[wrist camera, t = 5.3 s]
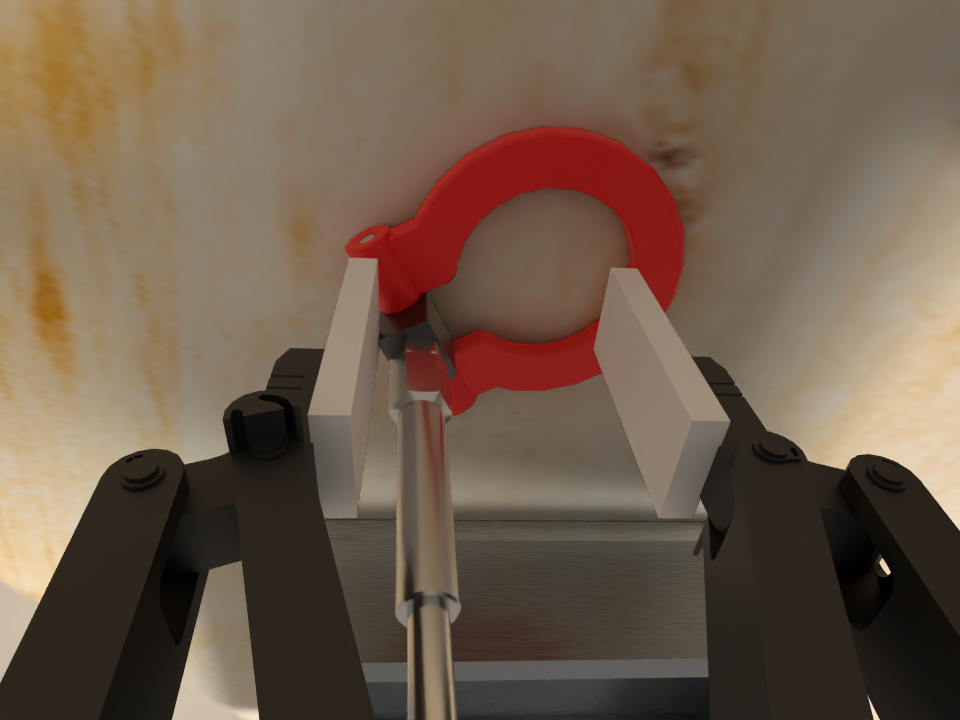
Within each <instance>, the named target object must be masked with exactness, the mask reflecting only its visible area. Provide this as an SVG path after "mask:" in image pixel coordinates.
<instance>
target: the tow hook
mask: <svg viewBox="0 0 960 720" xmlns="http://www.w3.org/2000/svg"><path fill="white" fill-rule="evenodd" d="M545 188H557V189H573V190H576V191H579V192H582V193H585V194H588V195H591V196H594V197H596V198H598V199H599V200H601V201H602V202H603V203H605V204H606V205H608V206H609V207H610V208H612V209H613V210H614V211H615V212H616V214H617V215H618V216H619V218H620V219H621V221H622V223H623V226H624V229H625V232H626V235H627V238H628V242H629V265H628V268H636V269H638V271H639V272H640V274H641V275H642V277H643V279H644V280H645V282H646V284H647V285H648V287H649V289H650V290H651V292H652V293H653V295H654V297H655V298H656V300H657V302H658V303H659V305H660V307H661V308H662V310H663V311H664V313H666V311H667V309H668V308H669V306H670V304H671V302H672V301H673V299H674V297H675V293H676V290H677V286H678V283H679V279H680V276H681V272H682V269H683V264H684V231H683V227H682V224H681V220H680V217H679V213H678V210H677V207H676V203H675V200H674V198H673V196H672V195H671V194H670V192H669V191H668V189H667V188H666V186H665V185H664V183H663V182H662V180H661V179H660V177H659V176H658V174H657V173H656V171H655V170H654V169H653V168H652V167H650V166H649V165H648V164H647V163H646V162H644V161H643V160H642V159H641V158H639V157H638V156H637V155H635V154H634V153H633V152H632V151H630V150H629V149H628V148H626V147H625V146H624V145H622V144H621V143H620V142H618V141H615V140H613V139H610V138H607V137H604V136H602V135H599V134H596V133H594V132H591V131H588V130H586V129H578V128H563V127H548V126H543V127H538V128H534V129H529V130H524V131H520V132H515V133H510V134H505V135H503V136H501V137H499V138H497V139H495V140H493V141H491V142H489V143H487V144H485V145H483V146H481V147H479V148H477V149H475V150H473V151H471V152H469V153H467V154H466V155H465V156H464V157H463V158H462V159H461V160H460V161H458V162H457V163H456V164H455V165H454V166H453V167H452V168H451V169H450V170H448V171H447V172H446V173H445V174H444V175H443V176H442V177H441V178H440V179H438V180H437V182H436V183H435V185H434V186H433V188H432V190H431V191H430V193H429V194H428V196H427V197H426V199H425V200H424V202H423V203H422V205H421V207H420V208H419V210H418V211H417V213H416V216H415V218H412V219H410V220H408V221H406V222H403V223H401V224H399V225H397V226H394V227H392V228H390V229H389V227H388V226H386V225H379V226H375V227H372V228H369V229H367V230H365V231H363V232H361V233H360V234H358V235H357V236H355V237H354V238H352V239H351V240H350V241H349V242H348V244H347V245H346V247H345V250H346V252H347V254H348V255H349V257H350V258H371V259H378V289H379V308H380V320H379V329H380V333H379V341H378V343H379V347H380V348H381V350H382V351H383V353H384V355H385V356H386V358H387V359H388V361H389V370H390V373H389V388H388V412H389V415H390V417H391V419H392V421H393V422H394V424H395V425H396V427H397V490H396V580H395V614H396V618H397V619H398V621H399V622H400V623H401V624H402V625H404V626H405V627H407V711H408V720H458V718H457V704H456V690H455V676H454V662H453V648H452V634H451V623H453V622H454V621H455V620H456V619H457V618H458V616H459V615H460V612H461V600H460V588H459V577H458V566H457V555H456V543H455V532H454V521H453V510H452V499H451V487H450V476H449V465H448V454H447V442H446V431H445V424H446V423H447V422H448V421H449V420H450V418H451V416H453V415H458V414H461V413H463V412H465V411H466V410H468V409H469V408H470V407H471V406H472V405H473V404H474V402H475V401H476V398H477V395H478V394H480V393H483V392H485V391H488V390H490V389H493V388H495V387H500V388H504V389H509V390H532V391H545V390H550V389H554V388H559V387H564V386H569V385H574V384H578V383H580V382H582V381H584V380H587V379H589V378H591V377H594V376H596V375H598V374H601V373H602V370H601V367H600V365H599V362H598V360H597V357H596V354H595V352H594V345H595V340H596V336H597V331H598V326H599V321H600V318H599V319H598V320H596V321H595V322H594V323H592V324H591V325H589V326H588V327H587V328H585V329H584V330H583V331H580V332H578V333H576V334H574V335H572V336H569V337H567V338H565V339H563V340H558V341H553V342H548V343H543V344H521V343H517V342H513V341H509V340H505V339H501V338H499V337H497V336H495V335H493V334H492V333H490V332H488V331H476V332H473V333H471V334H469V335H466V336H464V337H461V338H459V339H456V340H454V341H453V340H452V338H451V335H450V334H449V332H448V330H447V328H446V326H445V324H444V322H443V320H442V318H441V316H440V315H439V313H438V311H437V309H436V307H435V305H434V303H433V301H432V299H431V298H430V296H429V294H428V292H427V291H430V290H432V289H434V288H437V287H439V286H441V285H444V284H446V283H449V282H451V281H452V279H453V278H454V276H455V275H456V270H457V262H458V259H459V257H460V254H461V251H462V249H463V246H464V243H465V241H466V240H467V238H468V237H469V235H470V234H471V232H472V231H473V230H474V228H475V227H476V225H477V224H478V223H479V221H480V220H482V219H483V218H484V217H485V216H486V215H487V214H489V213H490V212H491V211H492V210H493V209H495V208H496V207H497V206H498V205H500V204H502V203H504V202H506V201H508V200H510V199H512V198H514V197H516V196H518V195H520V194H522V193H526V192H531V191H536V190H541V189H545Z"/></svg>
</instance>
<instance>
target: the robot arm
mask: <svg viewBox="0 0 960 720" xmlns="http://www.w3.org/2000/svg"><path fill="white" fill-rule="evenodd" d="M379 333H380V329H379V289H378V259H371V258H349V260H348V264H347V267H346V271H345V275H344V279H343V282H342V286H341V290H340V294H339V298H338V301H337V305H336V309H335V313H334V317H333V320H332V324H331V328H330V332H329V336H328V339H327V343H326V347H325V349H302V348H290V349H289V350H288V351H286V352H285V353H284V354H283V355H282V356H281V357H280V358H279V359H277V360H276V363H275V365H274V368H273V371H272V373H271V378H270V379H269V381H268V384H267V389H266V390H265V391H257V392H254V393H250V394H246V395H244V396H242V397H240V398H238V399H237V400H235V401H233V402H232V403H231V404H230V405H229V406H228V408H227V409H226V410H225V412H224V417H223V423H224V428H225V433H226V437H227V442H228V447H229V451H230V452H228V453H226V454H223V455H221V456H218V457H215V458H212V459H208V460H203V461H199V462H194V463H189V464H185V465H184V463H183V461H182V460H181V459H180V457H179V456H178V455H177V454H175V453H173V452H171V451H168V450H161V449H149V450H143V451H137V452H135V453H132V454H130V455H127V456H125V457H122V458H121V459H119V460H118V461H116V462H115V463H114V464H112V465H111V466H109V468H108V469H107V470H106V471H105V473H104V474H103V475H102V477H101V478H100V480H99V482H98V485H97V487H96V489H95V491H94V493H93V495H92V497H91V499H90V501H89V503H88V505H87V507H86V509H85V511H84V513H83V515H82V517H81V519H80V521H79V523H78V525H77V527H76V529H75V532H74V534H73V536H72V538H71V540H70V542H69V544H68V546H67V548H66V550H65V552H64V554H63V556H62V558H61V560H60V562H59V564H58V566H57V568H56V570H55V572H54V574H53V576H52V579H51V581H50V583H49V585H48V587H47V589H46V591H45V593H44V595H43V597H42V599H41V601H40V603H39V605H38V607H37V609H36V611H35V613H34V615H33V618H32V619H31V622H30V624H29V625H28V628H27V630H26V632H25V634H24V636H23V638H22V640H21V642H20V644H19V646H18V648H17V650H16V652H15V654H14V656H13V658H12V660H11V662H10V664H9V666H8V668H7V670H6V672H5V675H4V677H3V679H2V681H1V683H0V720H172V717H173V713H174V708H175V704H176V701H177V696H178V692H179V689H180V685H181V681H182V677H183V673H184V669H185V665H186V661H187V656H188V652H189V648H190V644H191V640H192V636H193V632H194V628H195V624H196V620H197V616H198V612H199V608H200V604H201V600H202V596H203V592H204V588H205V584H206V580H207V576H208V572H209V569H212V568H216V567H220V566H223V565H227V564H230V563H234V562H238V561H241V560H242V566H243V575H244V584H245V593H246V602H247V611H248V620H249V629H250V638H251V648H252V657H253V666H254V675H255V684H256V693H257V702H258V711H259V720H375V716H374V712H373V708H372V704H371V700H370V696H369V692H368V688H367V684H366V680H365V676H364V672H363V668H362V665H361V661H360V657H359V653H358V649H357V645H356V641H355V637H354V633H353V629H352V625H351V621H350V617H349V613H348V609H347V606H346V602H345V598H344V594H343V590H342V586H341V582H340V578H339V574H338V570H337V566H336V562H335V558H334V554H333V551H332V547H331V543H330V539H329V535H328V531H327V527H326V523H325V519H324V518H357V513H358V506H359V498H360V491H361V483H362V476H363V468H364V460H365V453H366V445H367V438H368V430H369V423H370V415H371V407H372V400H373V392H374V385H375V377H376V370H377V362H378V355H379V343H378V341H379ZM594 352H595V354H596V357H597V360H598V362H599V365H600V367H601V370H602V373H603V375H604V378H605V380H606V383H607V386H608V388H609V391H610V393H611V396H612V399H613V401H614V404H615V406H616V409H617V411H618V414H619V417H620V419H621V422H622V424H623V427H624V430H625V432H626V435H627V437H628V440H629V443H630V445H631V448H632V450H633V453H634V456H635V458H636V461H637V463H638V466H639V468H640V471H641V474H642V476H643V479H644V481H645V484H646V487H647V489H648V492H649V494H650V497H651V500H652V502H653V505H654V507H655V510H656V513H657V515H658V518H693V517H694V514H695V512H696V509H697V506H698V504H699V501H700V499H701V501H702V503H703V505H704V507H705V509H706V512H707V514H708V516H707V518H706V521H705V523H704V526H703V528H702V531H701V533H700V536H699V538H698V541H697V543H696V545H695V548H694V552H693V555H694V556H698V555H699V553H700V551H701V548H703V558H704V582H705V606H706V630H707V654H708V679H709V703H710V720H874V719H873V715H872V711H871V707H870V703H869V699H870V701H871V703H872V705H873V707H874V709H875V711H876V713H877V715H878V717H879V719H880V720H960V531H959V529H958V528H957V527H956V526H955V524H954V523H953V522H952V520H951V519H950V518H949V517H948V515H947V514H946V513H945V512H944V510H943V509H942V508H941V506H940V505H939V504H938V503H937V501H936V500H935V499H934V497H933V496H932V495H931V494H930V492H929V491H928V490H927V489H926V487H925V486H924V485H923V483H922V482H921V481H920V480H919V479H918V478H917V477H916V476H915V475H914V474H913V473H912V472H911V471H910V470H908V469H907V468H905V467H904V466H902V465H900V464H899V463H897V462H895V461H893V460H890V459H888V458H885V457H881V456H876V455H871V454H866V455H858V456H856V457H854V458H852V459H851V460H850V462H849V464H848V466H847V468H846V469H845V470H842V469H838V468H834V467H830V466H825V465H821V464H817V463H813V462H810V461H807V458H806V456H805V455H804V453H803V451H802V450H801V449H800V448H799V447H798V446H797V445H796V444H795V443H794V442H792V441H790V440H788V439H787V438H785V437H783V436H781V435H778V434H775V433H772V432H769V431H767V430H766V429H765V427H764V426H763V424H762V423H761V421H760V420H759V418H758V417H757V415H756V414H755V413H754V411H753V410H752V408H751V407H750V405H749V404H748V402H747V401H746V399H745V398H744V397H742V393H741V392H740V390H739V389H738V387H737V386H735V383H734V381H733V380H732V378H731V377H730V375H729V374H728V372H727V371H726V369H724V368H723V367H722V366H720V365H719V364H718V363H716V362H715V361H714V360H712V359H711V358H710V357H691V356H690V354H689V352H688V351H687V349H686V347H685V346H684V344H683V343H682V341H681V339H680V338H679V336H678V334H677V333H676V331H675V329H674V328H673V326H672V325H671V323H670V321H669V320H668V318H667V316H666V315H665V313H664V311H663V310H662V308H661V307H660V305H659V303H658V302H657V300H656V298H655V297H654V295H653V293H652V292H651V290H650V289H649V287H648V285H647V284H646V282H645V280H644V279H643V277H642V275H641V274H640V272H639V271H638V269H636V268H611V269H610V273H609V278H608V283H607V288H606V292H605V297H604V302H603V307H602V312H601V316H600V321H599V326H598V331H597V336H596V340H595V345H594ZM882 558H883V559H884V561H885V562H886V564H887V566H888V567H889V569H890V572H891V573H890V574H889V575H887V574H886V573H885V571H884V570H883V568H882V567H881V565H880V564H879V562H880V561H881V559H882ZM868 697H869V699H868Z"/></svg>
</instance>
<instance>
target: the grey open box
mask: <svg viewBox="0 0 960 720" xmlns="http://www.w3.org/2000/svg"><path fill="white" fill-rule="evenodd" d="M325 523H326V527H327V531H328V535H329V539H330V543H331V547H332V551H333V554H334V558H335V562H336V566H337V570H338V574H339V578H340V582H341V586H342V590H343V594H344V598H345V602H346V606H347V609H348V613H349V617H350V621H351V625H352V629H353V633H354V637H355V641H356V645H357V649H358V653H359V657H360V661H361V665H362V668H363V672H364V676H365V680H366V684H367V688H368V692H369V696H370V700H371V704H372V708H373V712H374V716H375V720H408V711H407V627H405V626H404V625H402V624H401V623H400V622H399V621H398V619H397V618H396V614H395V580H396V520H325ZM704 523H705V522H564V521H454V532H455V543H456V555H457V566H458V577H459V588H460V600H461V612H460V615H459V616H458V618H457V619H456V620H455V621H454V622H453V623H451V634H452V648H453V662H454V676H455V690H456V704H457V718H458V720H710V703H709V679H708V654H707V630H706V606H705V582H704V558H703V548H701V551H700V553H699V555H698V556H694V555H693V552H694V548H695V545H696V543H697V541H698V538H699V536H700V533H701V531H702V528H703V526H704Z"/></svg>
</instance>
